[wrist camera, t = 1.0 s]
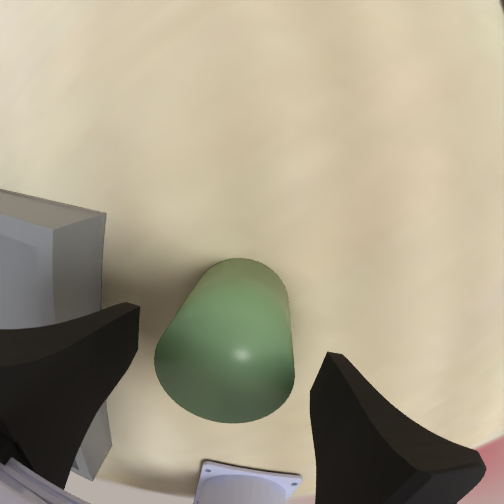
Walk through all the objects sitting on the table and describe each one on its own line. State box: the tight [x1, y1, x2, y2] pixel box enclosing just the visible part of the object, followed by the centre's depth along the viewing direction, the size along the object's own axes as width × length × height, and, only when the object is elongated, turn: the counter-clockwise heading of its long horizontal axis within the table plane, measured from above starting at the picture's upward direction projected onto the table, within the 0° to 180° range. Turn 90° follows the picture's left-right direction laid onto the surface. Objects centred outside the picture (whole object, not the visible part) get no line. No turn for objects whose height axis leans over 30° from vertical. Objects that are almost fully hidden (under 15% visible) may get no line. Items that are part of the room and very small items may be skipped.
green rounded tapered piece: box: [154, 258, 295, 423], centre depth 12 cm, size 5×5×6 cm
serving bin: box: [0, 189, 112, 481], centre depth 15 cm, size 20×16×4 cm
